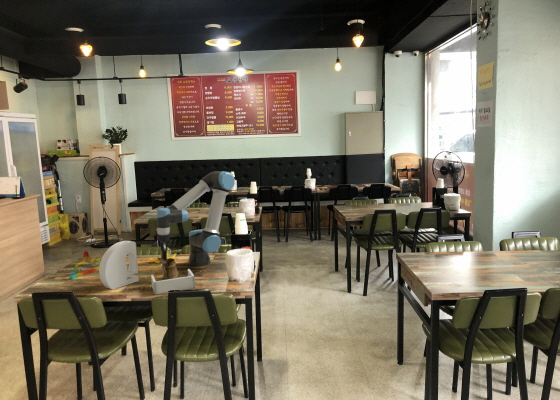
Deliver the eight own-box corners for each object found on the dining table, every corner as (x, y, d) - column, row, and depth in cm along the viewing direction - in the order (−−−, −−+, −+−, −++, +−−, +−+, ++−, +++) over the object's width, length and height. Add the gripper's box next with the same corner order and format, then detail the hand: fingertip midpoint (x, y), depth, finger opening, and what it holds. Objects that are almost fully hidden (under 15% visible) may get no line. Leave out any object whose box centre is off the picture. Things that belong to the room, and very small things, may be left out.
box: (190, 280, 256) (189, 269, 255) (195, 287, 242) (194, 276, 241) (151, 286, 247) (150, 274, 246) (154, 294, 233) (153, 282, 232)
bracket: (139, 281, 258) (135, 240, 255) (107, 291, 242) (103, 248, 239) (132, 279, 263) (129, 239, 259) (100, 288, 246) (96, 246, 243)
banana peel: (176, 258, 308) (175, 235, 306) (169, 265, 289) (167, 241, 287) (154, 258, 308) (152, 236, 306) (145, 266, 290) (143, 242, 287)
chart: (107, 265, 295) (105, 244, 293) (111, 266, 294) (109, 245, 292) (69, 279, 268) (66, 256, 266) (72, 279, 267) (70, 256, 265)
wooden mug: (155, 281, 256) (152, 255, 249) (170, 270, 267) (167, 245, 260) (166, 285, 252) (164, 259, 245) (181, 274, 263) (179, 249, 256)
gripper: (156, 231, 264) (156, 268, 267) (158, 236, 252) (158, 274, 256) (168, 231, 266) (169, 267, 270) (171, 235, 255) (171, 273, 258)
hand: (164, 270), depth 263 cm, fingers closed
